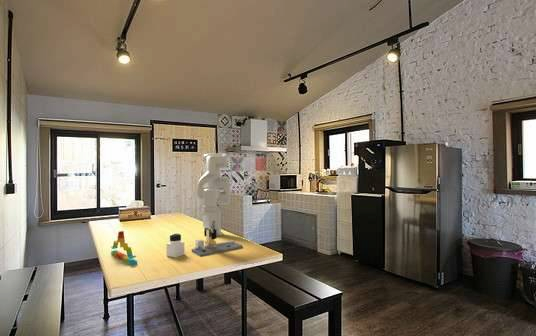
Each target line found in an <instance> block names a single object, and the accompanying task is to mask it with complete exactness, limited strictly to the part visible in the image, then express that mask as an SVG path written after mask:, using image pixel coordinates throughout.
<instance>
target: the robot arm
mask: <svg viewBox="0 0 536 336" xmlns="http://www.w3.org/2000/svg"><path fill="white" fill-rule="evenodd" d="M202 160H203V164H204V165H205V166H204V167H205V169H204V170H205V171H204V175H202V176H201V177H200V179H199V180H198V183H197V185H196V197H197V199H198V200H203V215H202V226H203V227H204V228H203V229H204V230H203V231H204V232H203V233H204V237H206V229H211V231H212V232H211V239H215V240H217V239H218V237H220V236H223V235H224V231H222V216H221V215H222V213H221V209H220V207H219V206H221V205H229V204H230V203H231V182H230V179H229V177H228V176H220V174H221V173H220V169H219V168H227V166H228V163H229V162H228V161H229V157H228V154H227V153H222V152H221V153H213V152H212V153H205V154H204V155H203V157H202ZM205 184H207V186H208V187H203V186H204V185H205ZM221 190H222V191H221ZM213 229H214V230H213Z"/></svg>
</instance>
